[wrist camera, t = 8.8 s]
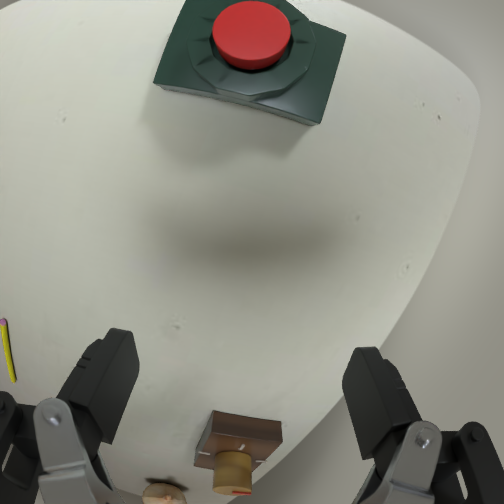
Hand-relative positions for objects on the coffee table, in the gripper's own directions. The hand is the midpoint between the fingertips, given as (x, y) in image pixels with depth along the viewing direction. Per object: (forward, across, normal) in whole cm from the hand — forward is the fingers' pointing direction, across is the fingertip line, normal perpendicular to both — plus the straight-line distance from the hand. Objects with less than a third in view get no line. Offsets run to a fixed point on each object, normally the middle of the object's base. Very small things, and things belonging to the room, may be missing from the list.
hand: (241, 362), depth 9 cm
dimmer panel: (+11, 0, +26) cm, 28 cm away
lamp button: (+7, +1, -13) cm, 15 cm away
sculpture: (+11, +13, +54) cm, 56 cm away
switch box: (+11, +1, -13) cm, 17 cm away
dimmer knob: (+8, 0, +26) cm, 27 cm away
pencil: (+11, +33, +19) cm, 40 cm away
